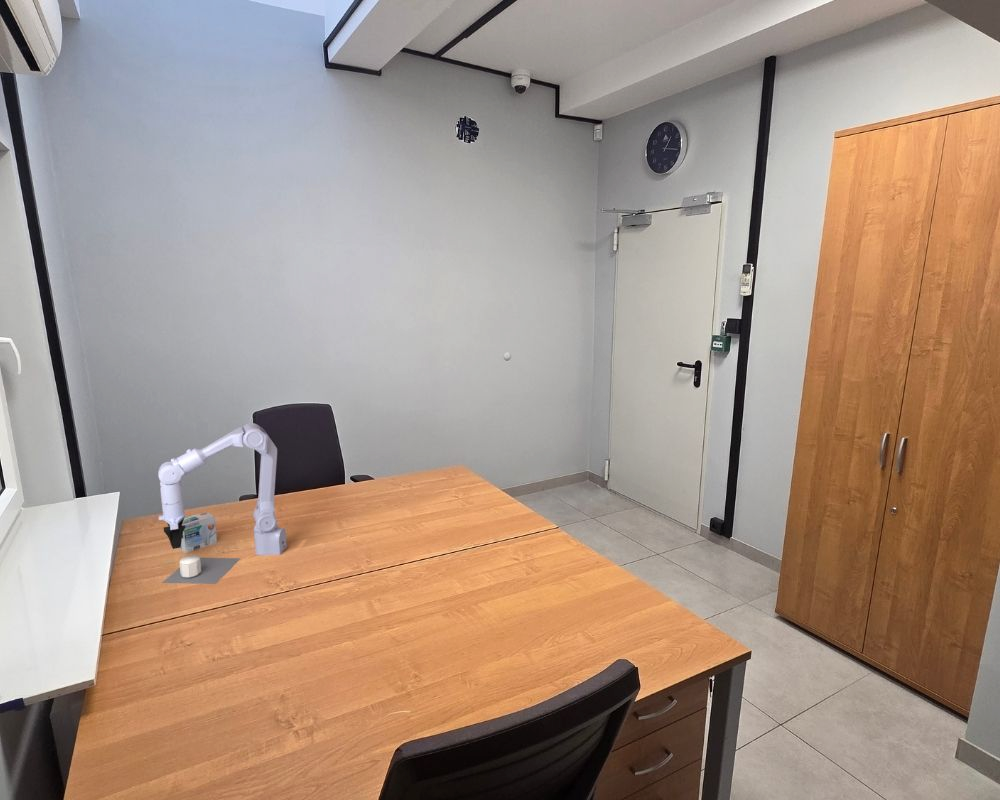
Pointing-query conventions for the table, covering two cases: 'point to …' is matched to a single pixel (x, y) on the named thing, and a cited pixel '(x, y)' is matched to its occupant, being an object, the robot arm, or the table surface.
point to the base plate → (206, 571)
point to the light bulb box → (198, 532)
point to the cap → (190, 566)
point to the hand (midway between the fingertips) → (176, 542)
